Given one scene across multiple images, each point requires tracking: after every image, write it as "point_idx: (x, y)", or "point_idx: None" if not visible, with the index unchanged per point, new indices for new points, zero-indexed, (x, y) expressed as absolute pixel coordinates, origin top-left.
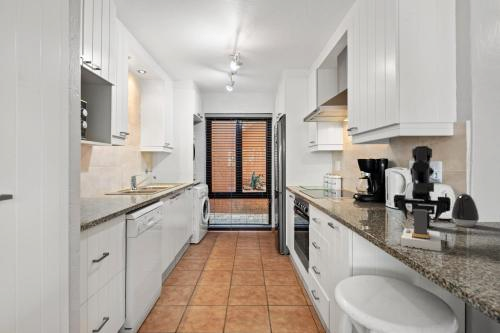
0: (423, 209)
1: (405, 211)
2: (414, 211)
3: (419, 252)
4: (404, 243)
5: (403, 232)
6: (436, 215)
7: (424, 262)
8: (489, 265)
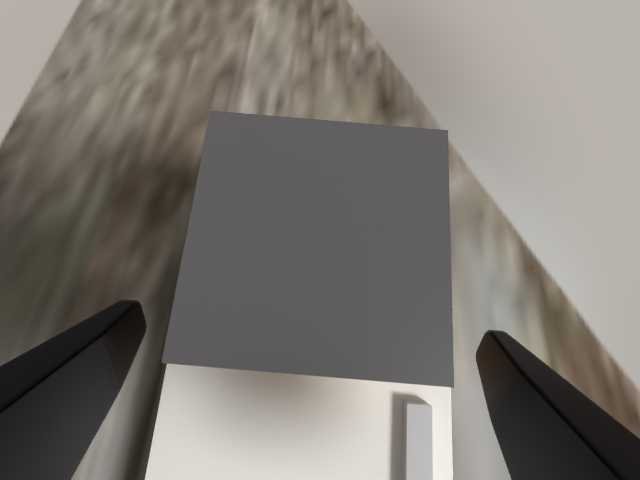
0: None
1: (597, 428)
2: (430, 143)
3: None
4: None
5: (447, 401)
6: (51, 353)
7: (319, 12)
8: (61, 73)
